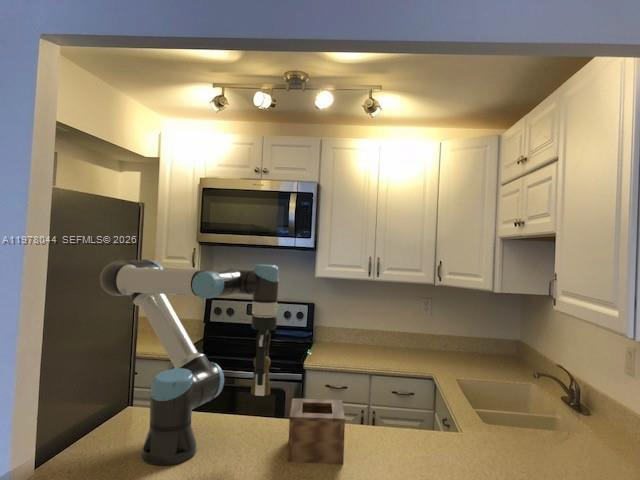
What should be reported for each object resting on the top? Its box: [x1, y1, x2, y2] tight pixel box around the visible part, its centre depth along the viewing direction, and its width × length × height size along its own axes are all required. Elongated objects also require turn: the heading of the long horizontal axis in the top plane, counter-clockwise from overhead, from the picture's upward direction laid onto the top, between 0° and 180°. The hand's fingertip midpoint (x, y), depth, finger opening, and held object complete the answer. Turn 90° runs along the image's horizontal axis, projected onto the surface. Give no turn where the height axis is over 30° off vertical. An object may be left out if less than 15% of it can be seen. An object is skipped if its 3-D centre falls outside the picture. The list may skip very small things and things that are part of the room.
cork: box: [250, 356, 272, 397], centre depth 138 cm, size 6×6×11 cm
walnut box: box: [287, 397, 346, 465], centre depth 139 cm, size 16×16×13 cm
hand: (261, 391), depth 138 cm, fingers closed on cork, 6 cm apart
